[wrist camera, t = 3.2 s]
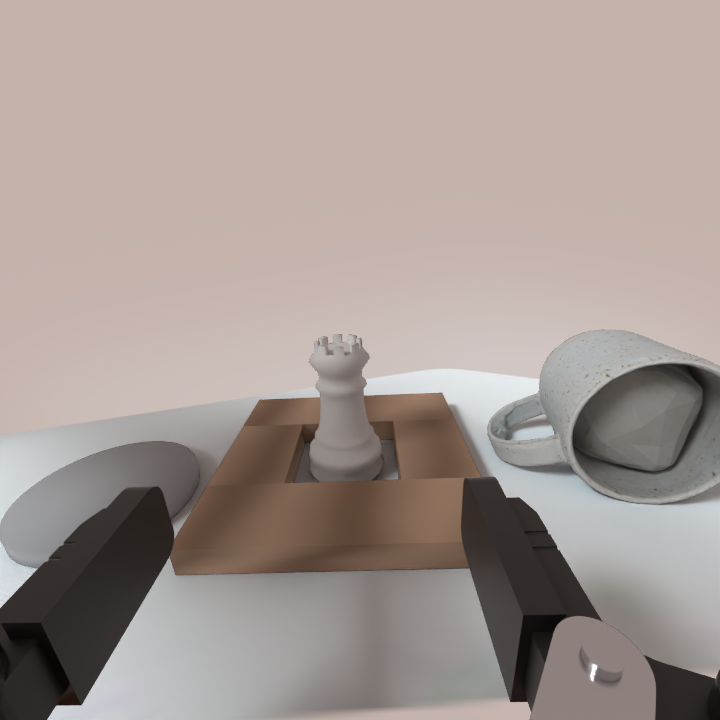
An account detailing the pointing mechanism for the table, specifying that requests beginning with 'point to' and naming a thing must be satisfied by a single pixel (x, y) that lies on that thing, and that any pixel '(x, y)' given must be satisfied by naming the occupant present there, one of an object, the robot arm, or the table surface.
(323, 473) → the rook chess piece
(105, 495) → the slate-grey pad
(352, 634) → the table surface
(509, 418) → the ceramic mug
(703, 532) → the table surface
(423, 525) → the walnut frame
